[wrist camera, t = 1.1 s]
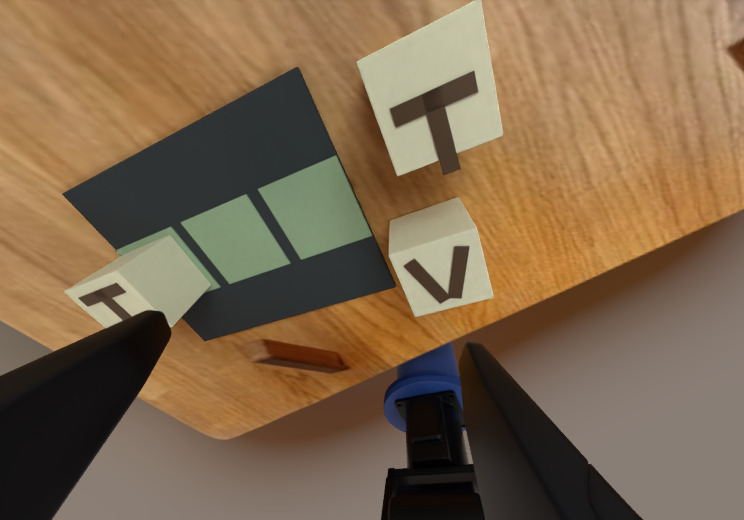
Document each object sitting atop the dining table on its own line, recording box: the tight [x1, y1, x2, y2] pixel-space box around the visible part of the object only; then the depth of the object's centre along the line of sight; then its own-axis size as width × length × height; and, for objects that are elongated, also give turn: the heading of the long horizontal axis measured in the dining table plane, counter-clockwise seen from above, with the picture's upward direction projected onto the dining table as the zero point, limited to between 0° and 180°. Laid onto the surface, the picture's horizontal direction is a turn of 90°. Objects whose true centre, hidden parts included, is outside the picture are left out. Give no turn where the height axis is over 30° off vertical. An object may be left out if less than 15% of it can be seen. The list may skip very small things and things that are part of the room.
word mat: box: [63, 67, 396, 341], centre depth 22 cm, size 16×20×1 cm
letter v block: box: [388, 197, 494, 317], centre depth 19 cm, size 5×5×5 cm
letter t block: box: [356, 0, 503, 176], centre depth 14 cm, size 6×5×5 cm
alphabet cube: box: [64, 235, 211, 328], centre depth 21 cm, size 5×5×5 cm
